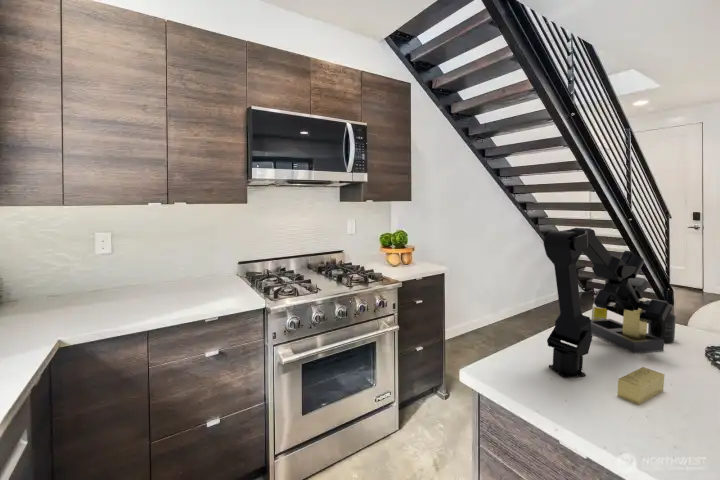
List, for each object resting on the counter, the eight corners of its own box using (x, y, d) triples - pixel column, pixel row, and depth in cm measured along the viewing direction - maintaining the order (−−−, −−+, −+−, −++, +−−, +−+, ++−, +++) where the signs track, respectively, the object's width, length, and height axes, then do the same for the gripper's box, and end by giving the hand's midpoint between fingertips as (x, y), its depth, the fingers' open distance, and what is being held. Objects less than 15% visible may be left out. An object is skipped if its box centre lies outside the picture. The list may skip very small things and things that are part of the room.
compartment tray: (633, 353, 109) (634, 342, 109) (583, 330, 129) (584, 320, 129) (663, 351, 111) (664, 340, 110) (609, 328, 130) (610, 318, 130)
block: (638, 405, 83) (640, 387, 82) (617, 396, 87) (618, 378, 86) (663, 391, 88) (664, 374, 88) (641, 383, 92) (643, 366, 92)
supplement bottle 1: (609, 323, 135) (610, 302, 134) (596, 323, 135) (598, 302, 134) (601, 319, 140) (602, 298, 139) (588, 319, 140) (590, 298, 139)
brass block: (638, 349, 111) (641, 310, 110) (619, 343, 116) (621, 305, 115) (648, 345, 114) (650, 307, 112) (628, 339, 119) (631, 302, 117)
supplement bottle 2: (671, 338, 121) (675, 303, 119) (676, 345, 115) (679, 308, 114) (646, 334, 124) (648, 300, 123) (648, 340, 119) (651, 305, 117)
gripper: (670, 274, 102) (684, 307, 109) (600, 264, 119) (617, 293, 125) (654, 305, 99) (670, 337, 106) (585, 291, 116) (602, 318, 122)
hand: (638, 319), depth 115 cm, fingers open, 5 cm apart
